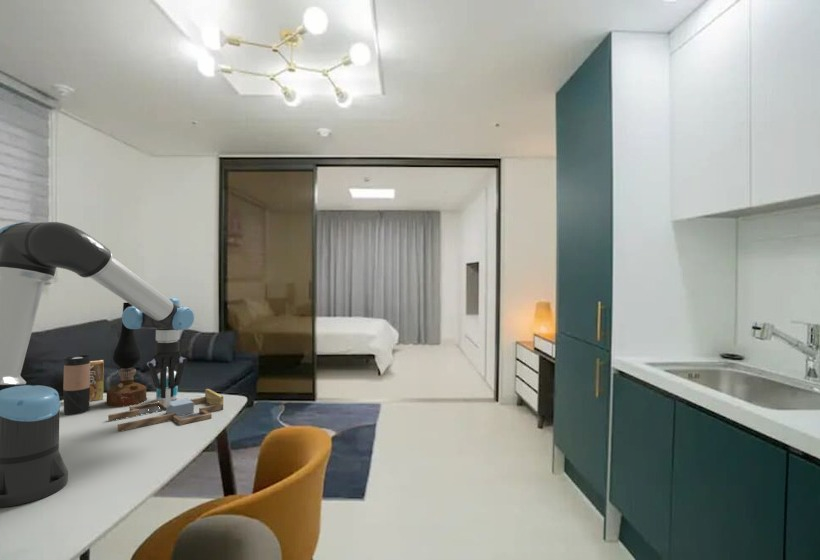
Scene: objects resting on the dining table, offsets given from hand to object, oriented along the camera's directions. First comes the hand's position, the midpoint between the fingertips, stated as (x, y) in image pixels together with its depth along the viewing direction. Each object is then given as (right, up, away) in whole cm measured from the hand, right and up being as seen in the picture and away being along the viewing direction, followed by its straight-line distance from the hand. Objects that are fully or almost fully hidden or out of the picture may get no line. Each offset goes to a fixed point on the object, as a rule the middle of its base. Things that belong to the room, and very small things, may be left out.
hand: (166, 406), depth 152 cm
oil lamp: (-24, -3, +15) cm, 29 cm away
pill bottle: (-10, -3, +18) cm, 21 cm away
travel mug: (-34, -3, +2) cm, 34 cm away
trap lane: (0, -3, 0) cm, 3 cm away
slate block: (+3, -3, +3) cm, 5 cm away
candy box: (-40, -3, +16) cm, 43 cm away
